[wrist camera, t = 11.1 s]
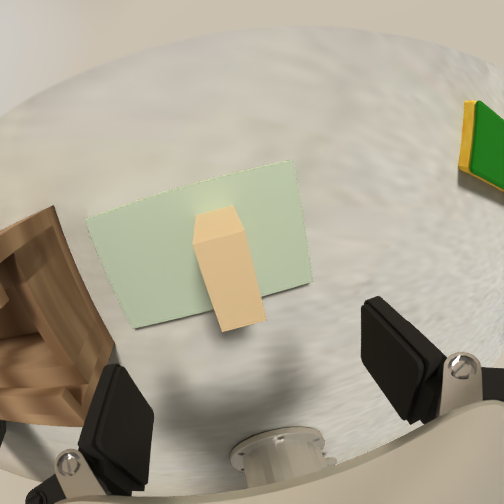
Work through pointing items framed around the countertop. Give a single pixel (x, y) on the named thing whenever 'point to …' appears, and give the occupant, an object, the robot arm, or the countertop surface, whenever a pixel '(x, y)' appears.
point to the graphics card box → (2, 430)
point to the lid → (206, 247)
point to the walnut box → (46, 327)
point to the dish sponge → (482, 144)
